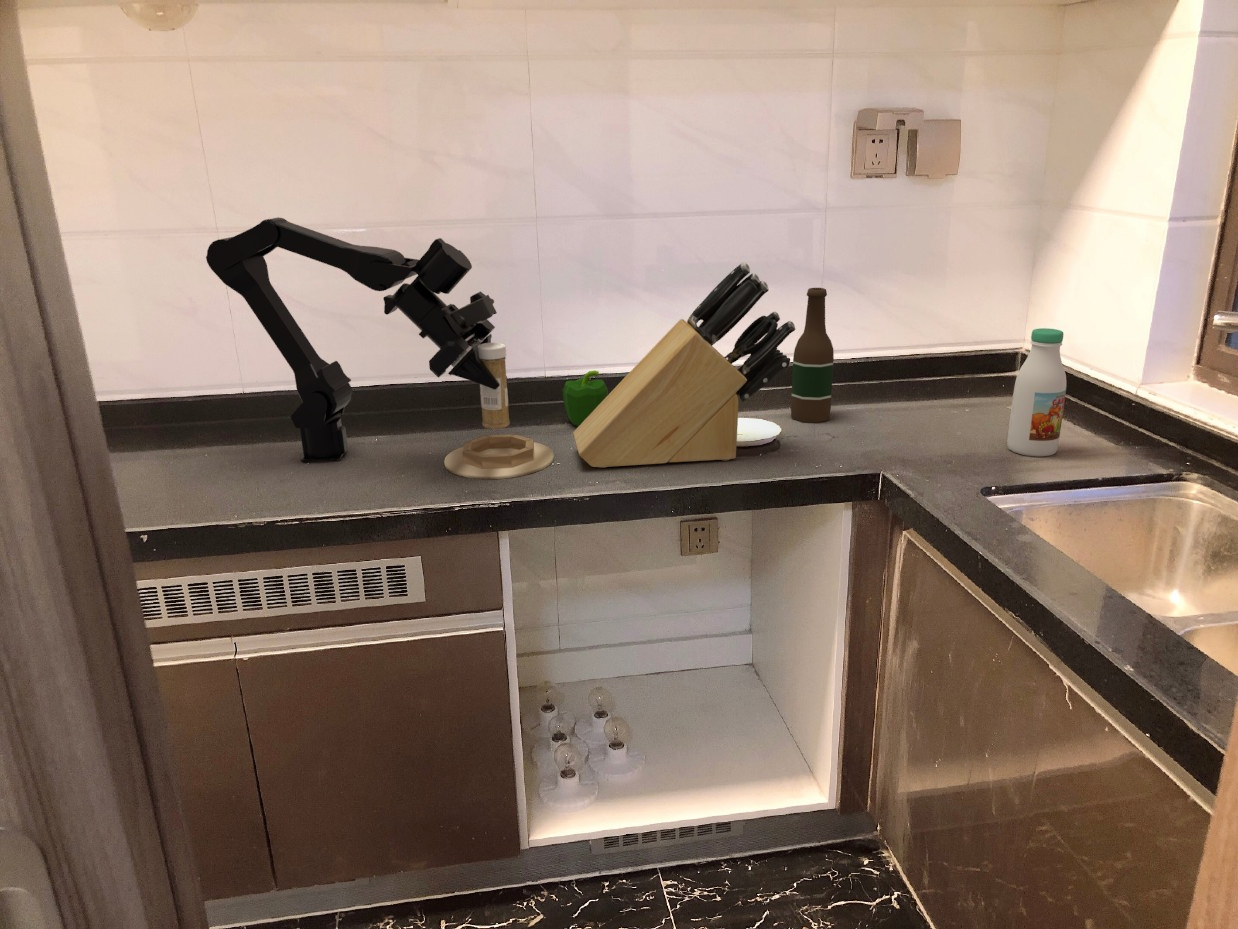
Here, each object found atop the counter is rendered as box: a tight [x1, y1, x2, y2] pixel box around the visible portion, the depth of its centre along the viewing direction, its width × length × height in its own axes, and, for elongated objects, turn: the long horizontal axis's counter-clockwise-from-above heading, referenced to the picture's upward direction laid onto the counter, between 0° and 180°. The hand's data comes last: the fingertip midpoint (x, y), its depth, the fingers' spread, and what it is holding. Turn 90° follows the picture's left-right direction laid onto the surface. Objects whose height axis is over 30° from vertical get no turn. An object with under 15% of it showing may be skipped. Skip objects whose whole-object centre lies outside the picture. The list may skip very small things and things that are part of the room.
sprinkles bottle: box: [478, 342, 511, 430], centre depth 148 cm, size 5×5×14 cm
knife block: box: [572, 262, 796, 469], centre depth 148 cm, size 11×35×31 cm, turn 98°
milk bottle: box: [1006, 327, 1067, 457], centre depth 148 cm, size 8×8×20 cm
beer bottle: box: [790, 287, 835, 424], centre depth 168 cm, size 8×8×24 cm
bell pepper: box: [561, 370, 609, 427], centre depth 169 cm, size 8×8×10 cm
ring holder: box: [444, 434, 555, 480], centre depth 152 cm, size 18×18×3 cm
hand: (501, 383), depth 147 cm, fingers closed on sprinkles bottle, 4 cm apart
